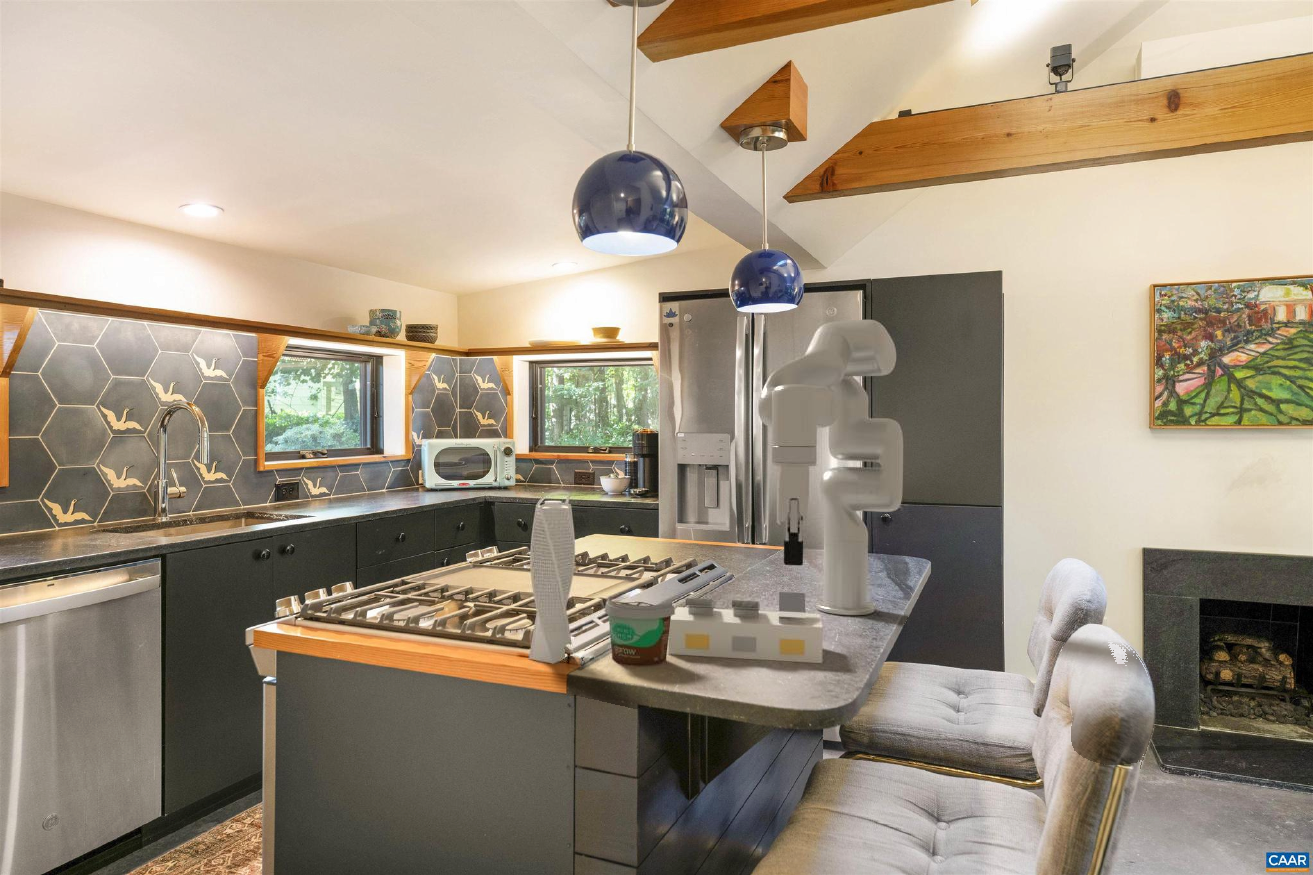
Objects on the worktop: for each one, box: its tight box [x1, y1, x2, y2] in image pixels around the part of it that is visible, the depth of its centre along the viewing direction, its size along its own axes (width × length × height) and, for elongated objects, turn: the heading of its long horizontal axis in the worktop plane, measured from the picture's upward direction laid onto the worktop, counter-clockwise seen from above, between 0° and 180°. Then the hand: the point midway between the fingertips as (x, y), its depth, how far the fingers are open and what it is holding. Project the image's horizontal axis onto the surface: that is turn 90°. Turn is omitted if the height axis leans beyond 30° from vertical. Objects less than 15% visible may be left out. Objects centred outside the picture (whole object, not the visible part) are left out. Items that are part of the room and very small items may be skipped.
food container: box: [604, 596, 675, 667], centre depth 125 cm, size 12×6×10 cm, turn 70°
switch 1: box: [685, 597, 717, 609], centre depth 135 cm, size 8×4×1 cm, turn 171°
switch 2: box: [731, 599, 761, 611], centre depth 133 cm, size 8×4×1 cm, turn 171°
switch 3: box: [778, 591, 807, 624], centre depth 132 cm, size 8×4×1 cm, turn 170°
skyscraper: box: [528, 490, 576, 665], centre depth 128 cm, size 8×8×28 cm
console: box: [668, 606, 824, 664], centre depth 133 cm, size 10×26×7 cm, turn 80°
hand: (793, 564), depth 129 cm, fingers closed
